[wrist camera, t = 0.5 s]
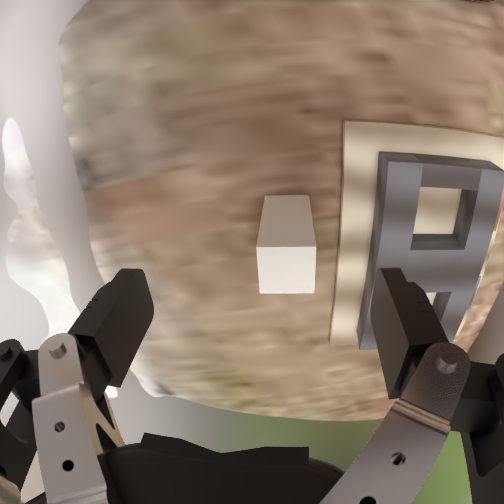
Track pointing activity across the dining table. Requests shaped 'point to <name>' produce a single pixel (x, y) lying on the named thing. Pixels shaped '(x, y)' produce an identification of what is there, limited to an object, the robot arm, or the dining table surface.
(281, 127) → the dining table surface
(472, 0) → the supplement container
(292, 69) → the dining table surface
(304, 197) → the white rectangular block
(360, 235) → the socket board
